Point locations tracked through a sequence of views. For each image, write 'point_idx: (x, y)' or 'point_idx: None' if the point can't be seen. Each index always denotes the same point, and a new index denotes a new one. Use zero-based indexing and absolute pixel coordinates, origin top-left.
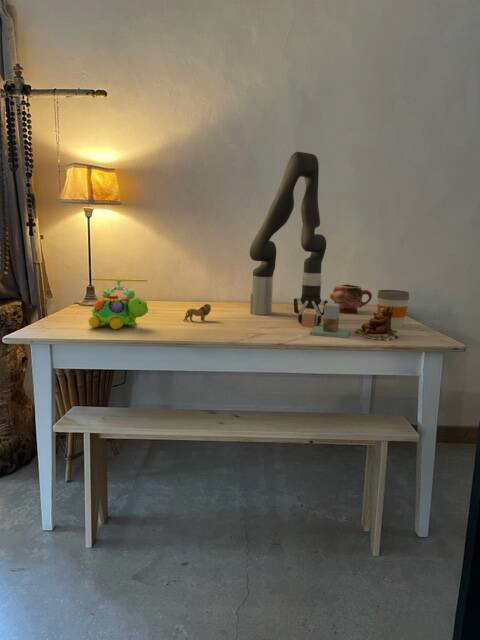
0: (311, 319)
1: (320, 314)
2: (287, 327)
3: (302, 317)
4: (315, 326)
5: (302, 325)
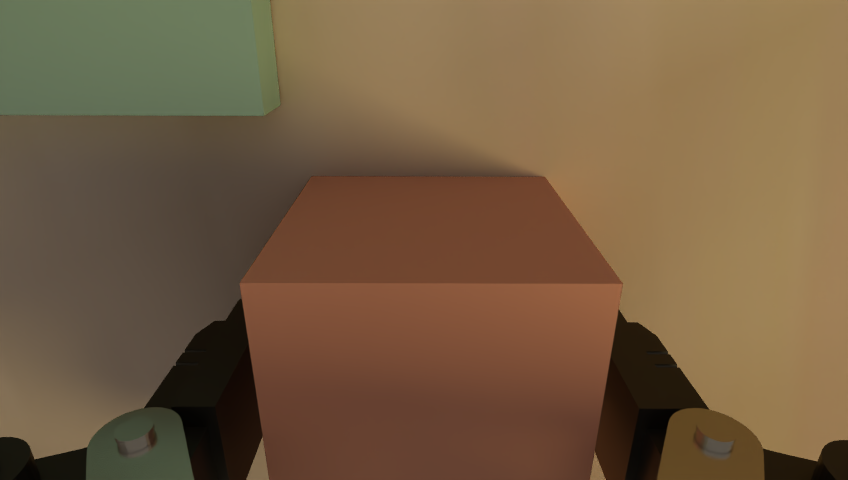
0: (346, 243)
1: (103, 447)
2: (835, 8)
3: (594, 253)
4: (231, 53)
5: (538, 187)
